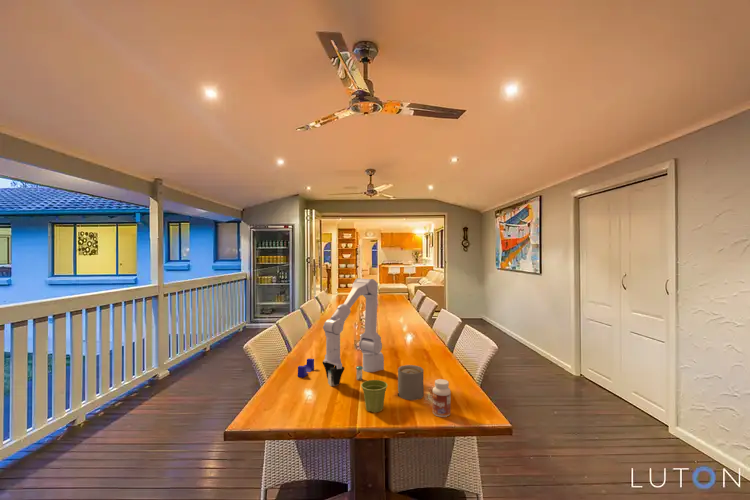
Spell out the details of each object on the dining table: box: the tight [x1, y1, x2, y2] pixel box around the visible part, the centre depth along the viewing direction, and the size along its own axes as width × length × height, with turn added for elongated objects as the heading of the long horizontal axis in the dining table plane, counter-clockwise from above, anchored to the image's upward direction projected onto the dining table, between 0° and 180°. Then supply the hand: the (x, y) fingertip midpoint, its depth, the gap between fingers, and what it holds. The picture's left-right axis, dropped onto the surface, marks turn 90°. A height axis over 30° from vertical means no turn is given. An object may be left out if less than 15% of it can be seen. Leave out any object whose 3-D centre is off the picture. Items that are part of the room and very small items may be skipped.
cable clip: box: [297, 358, 315, 378], centre depth 156 cm, size 12×4×6 cm, turn 169°
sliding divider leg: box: [327, 370, 337, 387], centre depth 142 cm, size 3×4×6 cm
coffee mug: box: [397, 364, 424, 401], centre depth 137 cm, size 13×10×10 cm
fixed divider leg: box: [355, 365, 363, 381], centre depth 148 cm, size 3×3×6 cm
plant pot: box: [360, 379, 388, 413], centre depth 123 cm, size 9×9×9 cm
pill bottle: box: [432, 378, 452, 418], centre depth 119 cm, size 6×6×11 cm
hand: (333, 381), depth 142 cm, fingers open, 7 cm apart
